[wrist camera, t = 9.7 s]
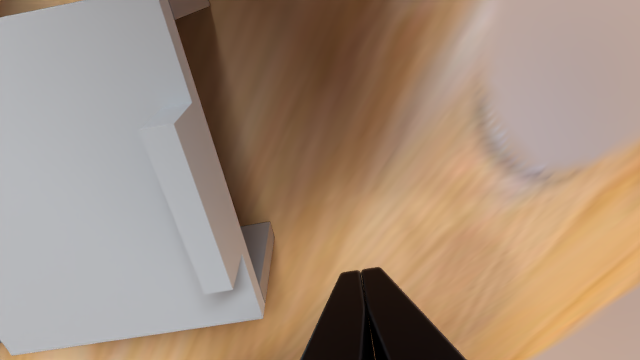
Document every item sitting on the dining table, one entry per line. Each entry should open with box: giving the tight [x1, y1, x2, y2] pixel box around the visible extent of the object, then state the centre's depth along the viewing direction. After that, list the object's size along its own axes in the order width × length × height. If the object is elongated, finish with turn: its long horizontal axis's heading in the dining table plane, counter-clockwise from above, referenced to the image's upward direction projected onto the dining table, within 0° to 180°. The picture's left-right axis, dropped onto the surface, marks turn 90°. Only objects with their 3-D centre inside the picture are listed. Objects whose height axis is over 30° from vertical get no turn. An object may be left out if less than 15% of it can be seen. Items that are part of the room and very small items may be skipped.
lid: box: [0, 0, 265, 356], centre depth 14 cm, size 13×11×3 cm
